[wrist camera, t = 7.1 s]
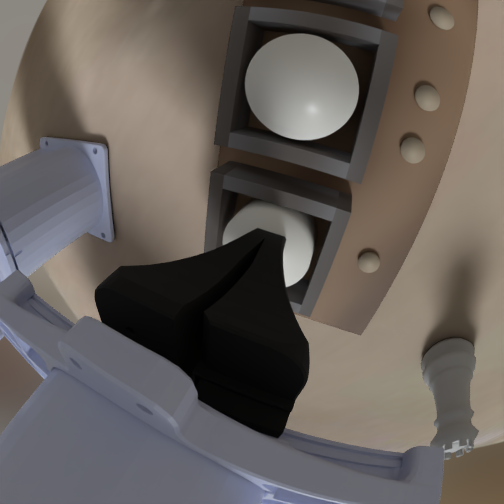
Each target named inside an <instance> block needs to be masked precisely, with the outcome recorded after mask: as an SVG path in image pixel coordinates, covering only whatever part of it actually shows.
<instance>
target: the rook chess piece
mask: <svg viewBox="0 0 504 504" xmlns="http://www.w3.org/2000/svg"><path fill="white" fill-rule="evenodd" d="M474 351H475V348H474V347H473V345H472V344H471V342H469V341H467V340H464V339H462V338H449V339H445V340H442V341H440V342H438V343H437V344H435V345H433V346H432V347H431V348H430V349H429V350H428V351H427V353H426V354H425V355H424V357H423V360H422V362H421V368H422V371H423V372H422V374H423V380H424V382H425V383H426V384H427V385H428V386H429V390H430V391H431V392H432V393H433V395H434V399H435V404H436V409H437V419H436V420H435V422H434V426H436V427H437V430H438V431H437V434H436V436H435V437H434V438H433V440H432V441H431V443H430V446H431V447H443V448H444V460H445V459H450V458H451V453H452V452H456V457H459V456H462V455H463V449H464V448H466V452H470V451H471V450H472V449H473V447H474V440H475V438H476V436H477V435H478V432H479V431H478V430H477V429H476V428H475V427H474V426H473V425H472V423H471V418H472V416H473V414H474V411H473V410H472V409H471V406H470V381H471V379H472V377H473V371H474V370H475V363H476V357H475V356H474Z"/></svg>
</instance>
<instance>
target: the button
mask: <svg viewBox="0 0 504 504" xmlns="http://www.w3.org/2000/svg"><path fill="white" fill-rule="evenodd" d="M256 228H260V229H263V230H266V231H269V232H272V233H275V234H278V235H281V236H285V238H286V243H285V247H284V251H283V269H284V278H285V284H286V287H288V286H291V285H293V284H295V283H296V282H298V281H299V280H300V279H301V278H302V277H303V276H304V275H305V273H306V272H307V270H308V268H309V265H310V262H311V258H312V255H313V252H314V248H315V245H316V241H317V226H316V223H315V220H314V218H313V216H312V215H310V214H307V213H304V212H301V211H298V210H294V209H291V208H288V207H285V206H281V205H278V204H275V203H271V202H268V201H265V200H261V199H258V198H253V199H251V200H250V201H249V202H248V203H247V204H246V205H245V206H244V207H243V208H242V209H241V210H240V211H239V212H238V213H237V214H236V215H235V216H234V217H233V218H232V219H231V221H230V222H229V223H228V224H227V226H226V228H225V231H224V234H223V245H225V244H227V243H229V242H231V241H233V240H235V239H237V238H239V237H241V236H243V235H245V234H247V233H248V232H250V231H252V230H254V229H256Z"/></svg>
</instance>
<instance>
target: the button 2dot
mask: <svg viewBox="0 0 504 504" xmlns="http://www.w3.org/2000/svg"><path fill="white" fill-rule="evenodd" d="M245 91H246V97H247V100H248V103H249V105H250V107H251V109H252V111H253V113H254V114H255V116H256V117H257V118H258V119H259V120H260V121H261V122H262V123H263V124H264V125H265V126H266V127H267V128H269V129H270V130H272V131H273V132H275V133H277V134H279V135H281V136H284V137H287V138H291V139H296V140H313V139H319V138H322V137H325V136H328V135H330V134H332V133H334V132H335V131H337V130H338V129H340V128H341V127H342V126H343V125H344V124H345V123H346V122H347V121H348V120H349V118H350V117H351V115H352V114H353V112H354V110H355V108H356V105H357V101H358V96H359V83H358V77H357V74H356V71H355V69H354V66H353V64H352V63H351V61H350V60H349V58H348V57H347V56H346V54H345V53H344V52H343V51H342V50H341V49H340V48H338V47H337V46H336V45H334V44H333V43H331V42H330V41H328V40H326V39H323V38H321V37H318V36H315V35H310V34H288V35H284V36H281V37H278V38H276V39H273V40H272V41H270V42H268V43H267V44H265V45H264V46H263V47H262V48H261V49H260V50H259V51H258V52H257V53H256V54H255V55H254V57H253V58H252V60H251V62H250V64H249V66H248V69H247V72H246V77H245Z"/></svg>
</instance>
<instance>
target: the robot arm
mask: <svg viewBox="0 0 504 504" xmlns="http://www.w3.org/2000/svg"><path fill="white" fill-rule="evenodd" d="M39 144H40V149H38V150H36V151H33V152H31V153H29V154H26V155H24V156H22V157H19V158H17V159H15V160H13V161H11V162H9V163H7V164H5V165H3V166H1V167H0V340H1V339H2V338H3V336H5V337H6V338H7V339H8V340H9V341H10V343H11V344H12V345H13V346H14V347H15V348H16V349H17V350H18V352H19V353H20V354H21V355H22V356H23V357H24V358H25V359H26V361H27V362H28V363H29V364H30V365H31V366H32V367H33V368H34V369H35V370H36V371H37V372H38V373H39V374H40V375H41V376H42V377H43V378H44V379H45V380H44V381H43V382H42V383H41V384H40V386H39V387H38V388H37V389H36V390H35V391H34V393H33V394H32V395H31V397H30V398H29V399H28V400H27V401H26V403H25V404H24V405H23V406H22V408H21V409H20V410H19V411H18V413H17V414H16V415H15V416H14V418H13V419H12V420H11V422H10V423H9V424H8V426H7V427H6V428H5V429H4V431H3V432H2V434H1V435H0V504H439V503H440V496H441V488H442V479H443V466H444V448H443V447H431V446H416V447H413V448H411V449H409V450H407V451H406V452H405V453H398V452H390V451H383V450H377V449H370V448H365V447H359V446H354V445H349V444H344V443H339V442H335V441H331V440H326V439H322V438H318V437H314V436H311V435H307V434H303V433H300V432H296V431H293V430H290V429H286V428H285V426H286V423H287V420H288V417H289V414H290V412H291V411H292V409H293V406H294V403H295V400H296V398H297V397H298V395H299V394H300V392H301V391H302V389H303V388H304V386H305V385H306V383H307V380H308V375H309V343H308V341H307V339H306V338H305V336H304V334H303V332H302V330H301V328H300V326H299V324H298V322H297V320H296V318H295V315H294V312H293V309H292V307H291V304H290V301H289V297H288V294H287V289H286V284H285V278H284V269H283V251H284V247H285V243H286V238H285V236H281V235H278V234H275V233H272V232H269V231H266V230H263V229H260V228H256V229H254V230H252V231H250V232H248V233H247V234H245V235H243V236H241V237H239V238H237V239H235V240H233V241H231V242H229V243H227V244H225V245H223V246H220V247H218V248H216V249H213V250H211V251H208V252H205V253H203V254H199V255H196V256H193V257H189V258H185V259H181V260H176V261H172V262H166V263H160V264H152V265H140V266H120V267H119V268H118V269H117V270H116V271H114V272H113V273H112V274H111V275H110V276H109V277H108V278H107V279H106V280H104V281H103V282H102V283H101V284H100V285H99V286H98V287H97V288H96V290H95V302H96V306H97V309H98V312H99V315H100V318H101V321H102V322H100V321H99V320H96V319H94V318H91V317H89V316H84V317H83V318H81V319H80V320H79V321H78V322H77V323H76V324H74V323H73V322H71V321H70V320H69V319H67V318H66V317H64V316H63V315H61V314H60V313H59V312H58V311H56V310H55V309H54V308H53V307H51V306H50V305H49V304H48V303H46V302H45V301H44V300H43V299H41V298H40V297H39V296H37V294H35V290H34V288H33V285H32V284H31V282H30V280H29V279H28V278H27V277H28V276H29V275H30V274H32V273H33V272H34V271H35V270H37V269H38V268H39V267H40V266H42V265H43V264H44V263H45V262H47V261H48V260H49V259H51V258H52V257H53V256H54V255H56V254H57V253H58V252H60V251H61V250H62V249H64V248H65V247H66V246H68V245H69V244H71V243H72V242H73V241H75V240H76V239H77V238H79V237H80V236H82V235H83V234H85V233H86V232H87V233H89V234H91V235H94V236H96V237H98V238H100V239H103V240H105V241H107V242H112V241H113V240H114V229H113V220H112V211H111V200H110V188H109V172H108V150H107V147H106V145H105V144H102V143H95V142H88V141H80V140H72V139H63V138H54V137H42V138H40V140H39Z"/></svg>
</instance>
